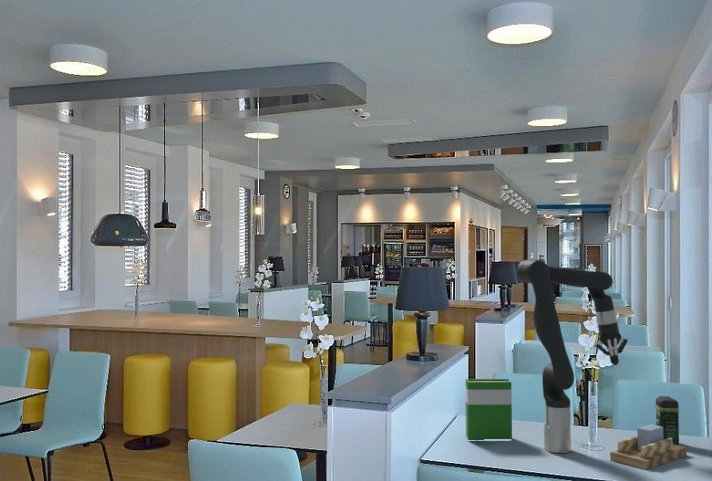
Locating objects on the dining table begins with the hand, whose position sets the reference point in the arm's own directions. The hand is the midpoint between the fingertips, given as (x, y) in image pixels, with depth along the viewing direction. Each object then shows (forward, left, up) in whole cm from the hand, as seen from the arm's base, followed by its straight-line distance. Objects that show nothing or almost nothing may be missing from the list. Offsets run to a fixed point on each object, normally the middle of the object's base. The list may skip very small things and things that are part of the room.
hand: (615, 364), depth 278 cm
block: (+6, -17, -29) cm, 34 cm away
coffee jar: (+21, 0, -32) cm, 38 cm away
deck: (+5, -18, -32) cm, 37 cm away
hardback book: (-48, +12, -32) cm, 59 cm away
